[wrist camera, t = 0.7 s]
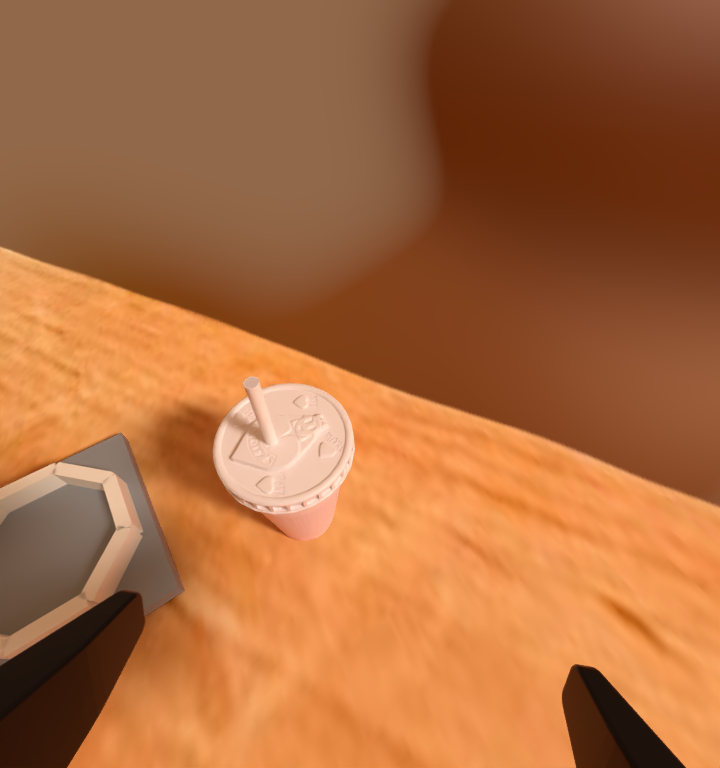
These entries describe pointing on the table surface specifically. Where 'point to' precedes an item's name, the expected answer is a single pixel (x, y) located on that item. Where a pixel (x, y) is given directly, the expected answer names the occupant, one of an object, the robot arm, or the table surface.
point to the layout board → (78, 544)
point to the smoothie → (286, 455)
